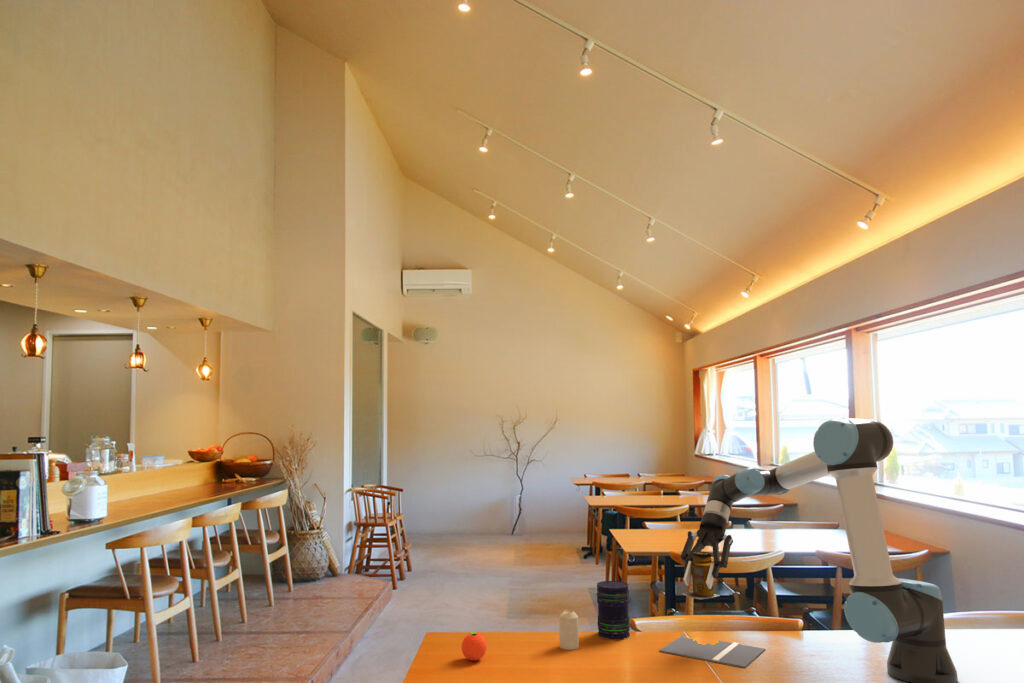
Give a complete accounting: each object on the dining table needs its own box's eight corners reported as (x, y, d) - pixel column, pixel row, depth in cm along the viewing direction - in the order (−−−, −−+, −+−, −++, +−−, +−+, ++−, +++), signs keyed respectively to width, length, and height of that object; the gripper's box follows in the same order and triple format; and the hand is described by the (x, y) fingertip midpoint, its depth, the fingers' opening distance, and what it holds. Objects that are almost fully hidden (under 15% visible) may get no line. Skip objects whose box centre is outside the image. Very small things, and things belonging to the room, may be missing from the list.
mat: (765, 650, 190) (765, 647, 190) (745, 668, 176) (745, 665, 176) (684, 635, 204) (683, 633, 204) (659, 651, 190) (659, 648, 190)
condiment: (720, 596, 194) (718, 553, 196) (700, 600, 190) (698, 556, 191) (701, 591, 200) (699, 549, 202) (681, 595, 196) (679, 552, 197)
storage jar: (636, 637, 203) (634, 586, 205) (608, 641, 199) (606, 589, 201) (619, 628, 212) (618, 579, 214) (591, 632, 208) (590, 582, 211)
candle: (556, 645, 196) (555, 610, 197) (572, 643, 198) (571, 607, 199) (565, 651, 191) (564, 614, 192) (582, 648, 193) (581, 612, 194)
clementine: (457, 656, 187) (457, 629, 188) (481, 653, 189) (481, 627, 190) (465, 665, 179) (465, 637, 180) (490, 662, 182) (490, 634, 183)
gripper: (749, 529, 204) (733, 596, 189) (689, 524, 215) (670, 587, 200) (742, 513, 200) (726, 580, 185) (681, 509, 211) (661, 572, 196)
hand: (697, 584), depth 192 cm, fingers closed on condiment, 6 cm apart
